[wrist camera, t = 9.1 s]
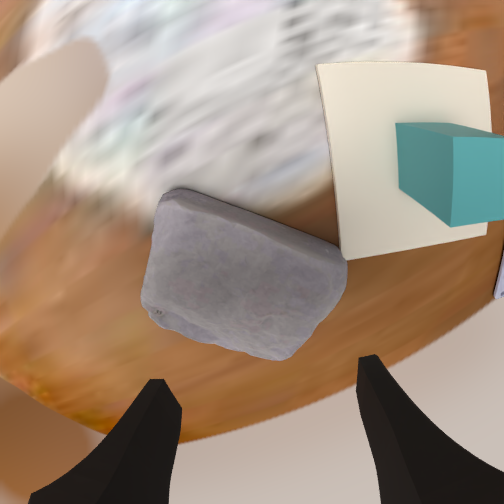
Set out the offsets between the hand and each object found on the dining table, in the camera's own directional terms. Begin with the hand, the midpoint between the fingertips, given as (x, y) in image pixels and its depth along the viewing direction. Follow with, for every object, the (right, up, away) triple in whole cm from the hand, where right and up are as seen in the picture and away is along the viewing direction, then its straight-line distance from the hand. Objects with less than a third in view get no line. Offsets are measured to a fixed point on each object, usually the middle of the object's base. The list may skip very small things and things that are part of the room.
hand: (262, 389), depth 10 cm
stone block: (-1, +3, +11) cm, 11 cm away
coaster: (+10, +11, +6) cm, 16 cm away
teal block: (+10, +11, +5) cm, 16 cm away
